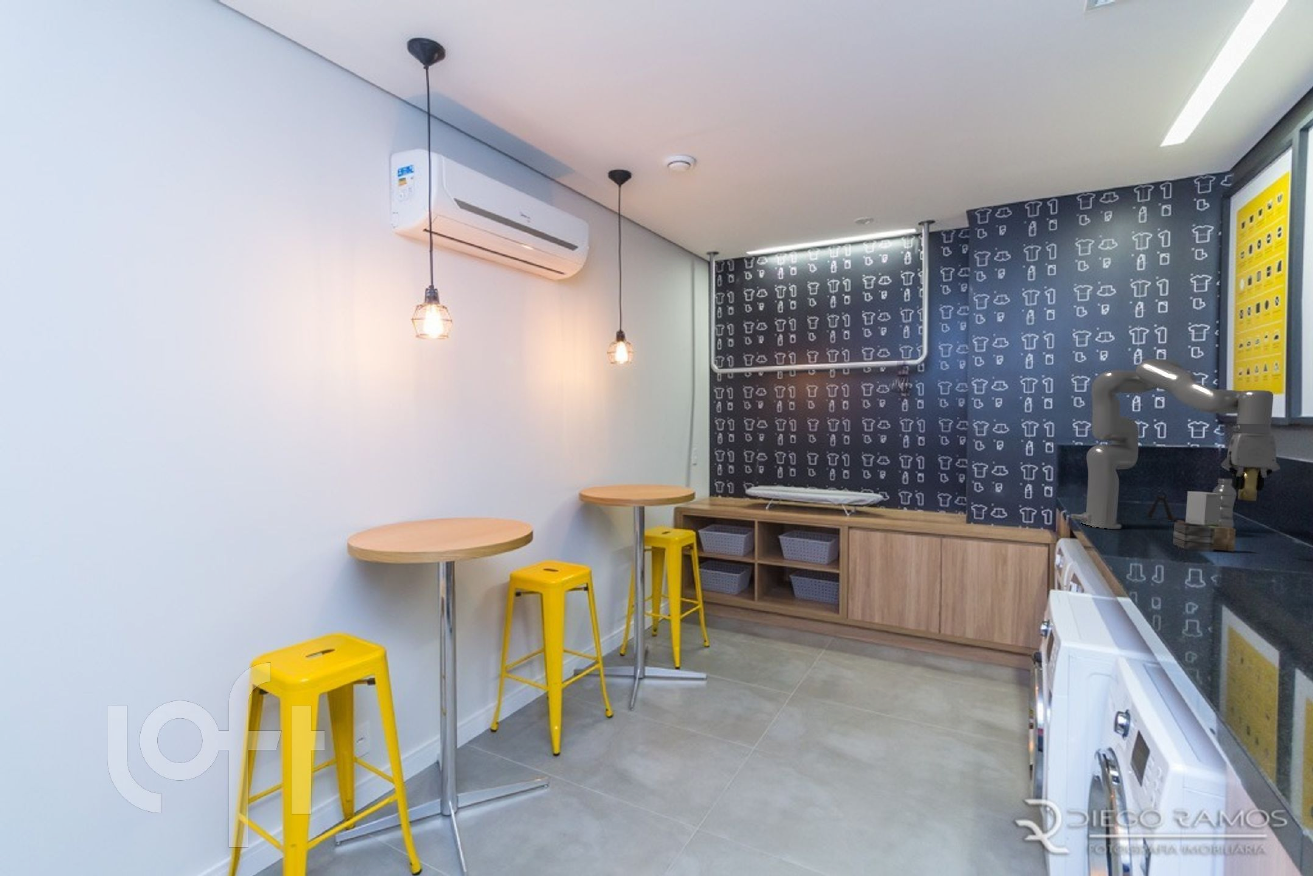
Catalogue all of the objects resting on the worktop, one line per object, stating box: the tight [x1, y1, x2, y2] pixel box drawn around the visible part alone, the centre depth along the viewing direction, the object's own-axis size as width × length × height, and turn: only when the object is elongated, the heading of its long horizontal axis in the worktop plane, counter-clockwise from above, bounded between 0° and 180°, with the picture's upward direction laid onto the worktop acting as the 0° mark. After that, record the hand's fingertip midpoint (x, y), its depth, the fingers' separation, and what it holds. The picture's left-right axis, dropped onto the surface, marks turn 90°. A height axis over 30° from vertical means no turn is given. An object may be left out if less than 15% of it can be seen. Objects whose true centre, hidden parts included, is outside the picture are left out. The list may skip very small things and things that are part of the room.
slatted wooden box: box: [1172, 519, 1215, 553], centre depth 197 cm, size 8×14×8 cm, turn 160°
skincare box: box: [1185, 490, 1221, 527], centre depth 218 cm, size 8×7×16 cm
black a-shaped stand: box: [1145, 490, 1175, 522], centre depth 248 cm, size 9×6×12 cm, turn 48°
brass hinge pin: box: [1237, 467, 1259, 502], centre depth 184 cm, size 5×5×12 cm
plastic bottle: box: [1212, 477, 1237, 529], centre depth 225 cm, size 6×7×20 cm
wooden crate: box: [1173, 526, 1237, 552], centre depth 193 cm, size 14×8×7 cm, turn 70°
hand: (1247, 488), depth 184 cm, fingers closed on brass hinge pin, 4 cm apart
